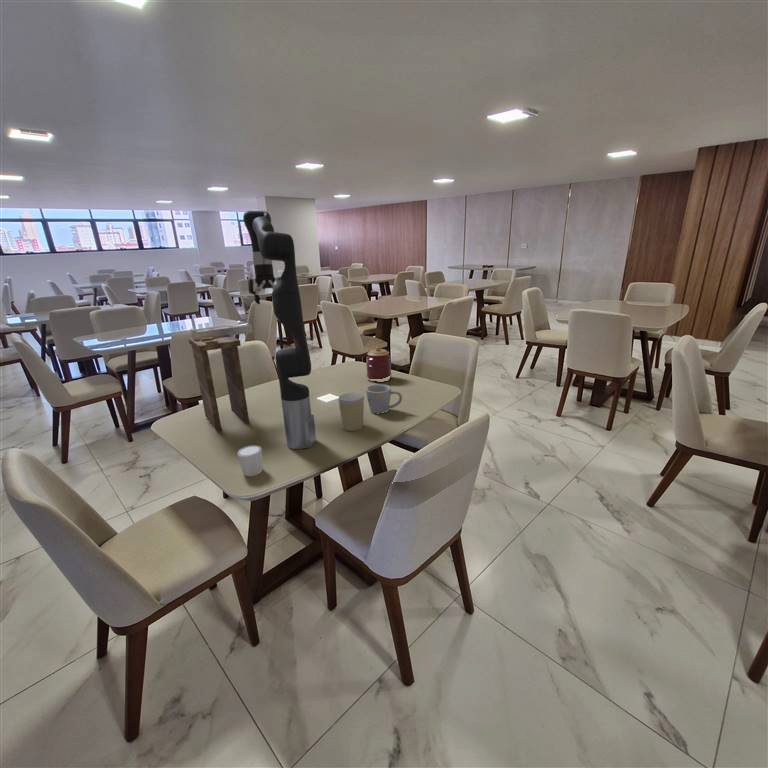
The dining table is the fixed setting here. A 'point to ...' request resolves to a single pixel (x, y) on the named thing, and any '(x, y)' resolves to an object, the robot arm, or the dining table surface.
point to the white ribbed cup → (250, 460)
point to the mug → (380, 398)
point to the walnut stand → (231, 372)
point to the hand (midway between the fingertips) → (268, 303)
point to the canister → (378, 364)
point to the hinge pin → (221, 332)
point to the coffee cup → (351, 411)
